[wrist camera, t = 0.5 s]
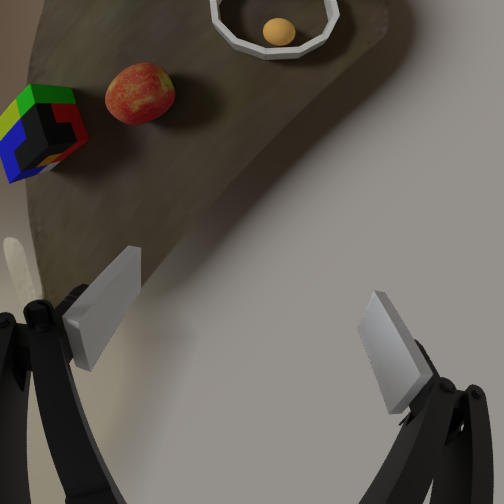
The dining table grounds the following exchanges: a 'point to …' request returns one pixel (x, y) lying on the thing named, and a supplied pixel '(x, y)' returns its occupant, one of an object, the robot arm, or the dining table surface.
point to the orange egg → (279, 32)
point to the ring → (275, 52)
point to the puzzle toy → (39, 131)
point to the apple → (140, 94)
